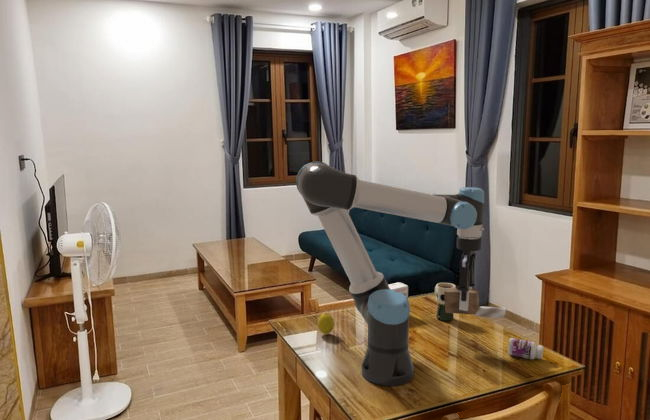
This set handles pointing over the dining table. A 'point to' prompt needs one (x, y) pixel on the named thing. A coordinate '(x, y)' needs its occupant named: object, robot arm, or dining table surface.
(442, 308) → the character mug
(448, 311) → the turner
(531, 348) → the pill bottle
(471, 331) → the dining table surface
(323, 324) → the lemon
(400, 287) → the ink box
